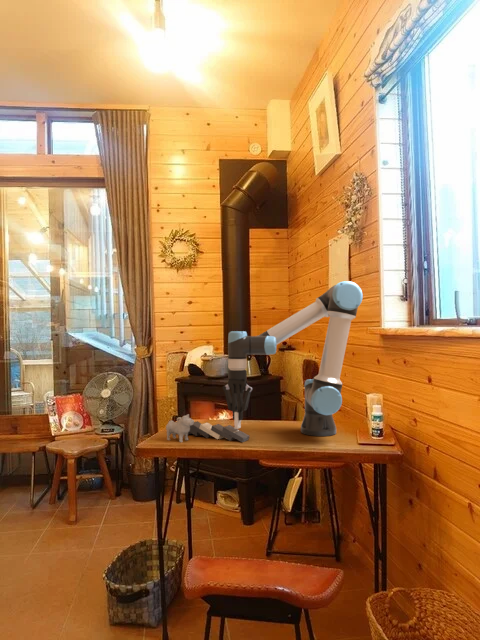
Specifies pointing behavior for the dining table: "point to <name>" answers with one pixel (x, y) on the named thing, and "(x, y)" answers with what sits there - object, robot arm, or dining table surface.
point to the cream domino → (209, 430)
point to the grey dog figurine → (179, 427)
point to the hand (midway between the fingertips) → (237, 427)
